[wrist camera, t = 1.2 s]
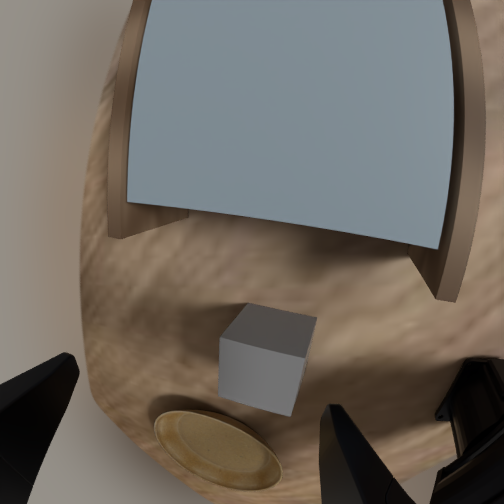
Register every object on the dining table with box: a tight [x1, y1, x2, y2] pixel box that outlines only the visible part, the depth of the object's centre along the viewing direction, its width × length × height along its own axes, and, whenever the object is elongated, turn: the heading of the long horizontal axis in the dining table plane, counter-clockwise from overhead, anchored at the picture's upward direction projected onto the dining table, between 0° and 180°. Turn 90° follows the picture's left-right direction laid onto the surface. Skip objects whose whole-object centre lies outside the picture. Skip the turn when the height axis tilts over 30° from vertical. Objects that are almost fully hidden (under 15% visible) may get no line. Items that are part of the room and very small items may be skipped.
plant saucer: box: [154, 410, 283, 492], centre depth 26 cm, size 15×15×3 cm
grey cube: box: [218, 303, 317, 417], centre depth 19 cm, size 5×5×5 cm
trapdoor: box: [127, 0, 454, 249], centre depth 12 cm, size 12×14×5 cm
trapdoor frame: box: [107, 0, 486, 303], centre depth 13 cm, size 15×17×7 cm
